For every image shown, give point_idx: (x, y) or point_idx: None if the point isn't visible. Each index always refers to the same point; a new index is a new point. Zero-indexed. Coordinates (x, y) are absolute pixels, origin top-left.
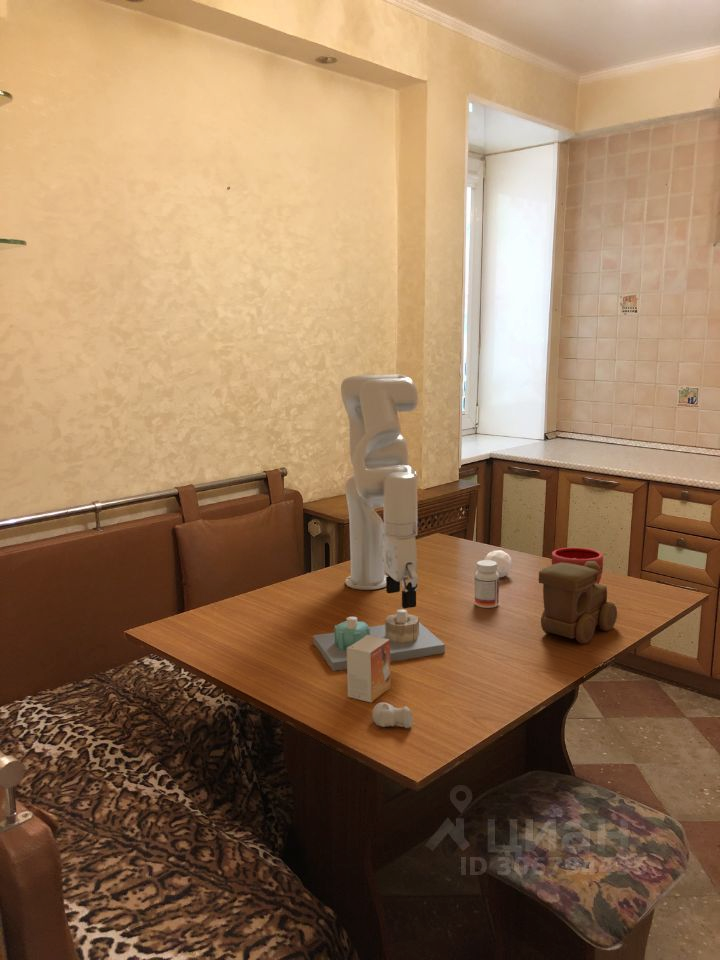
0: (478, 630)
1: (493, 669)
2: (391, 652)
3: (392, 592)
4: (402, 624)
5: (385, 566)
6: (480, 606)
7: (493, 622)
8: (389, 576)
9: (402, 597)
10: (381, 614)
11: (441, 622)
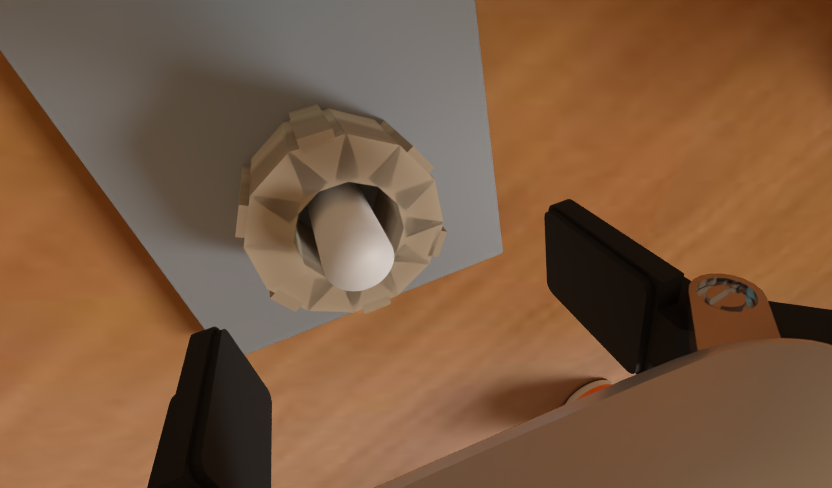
0: (424, 403)
1: (84, 477)
2: (67, 124)
3: (546, 242)
4: (260, 238)
5: (769, 473)
6: (575, 393)
7: (471, 426)
8: (672, 303)
9: (175, 414)
10: (651, 103)
11: (509, 309)
